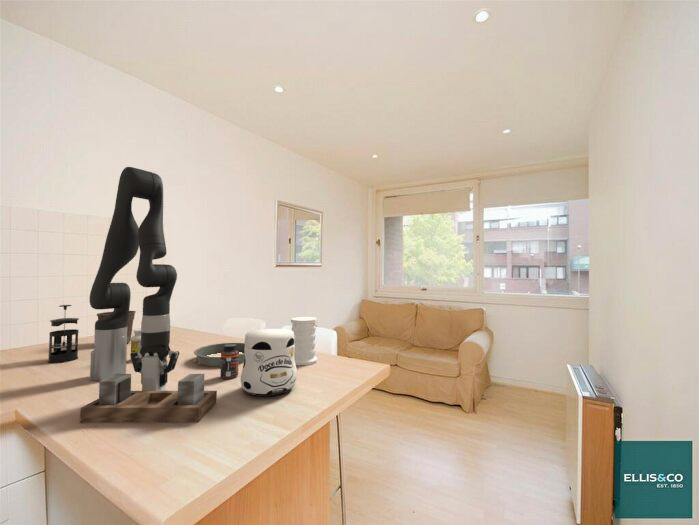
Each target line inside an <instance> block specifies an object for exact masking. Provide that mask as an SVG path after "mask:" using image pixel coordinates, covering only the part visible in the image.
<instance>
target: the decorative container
mask: <svg viewBox="0 0 699 525" xmlns="http://www.w3.org/2000/svg"><path fill="white" fill-rule="evenodd" d="M317 322H318V319H317V317H315V316H314V317H313V316H297V317H291V318H290V323H291V324H292V326H291V331H293V332H294V345H295V349H294V360H295V364H296V366H298V365H306V366H310V365H309V364H312V365H314V364H313V363H315V362H316V363H317V362H318V357H317V356H316V355H315V354H316V344H317V342H316V337H317V336H316V331H317V330H316V329H317V328H316V327H317V326H316V323H317ZM316 363H315V364H316Z"/></svg>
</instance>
